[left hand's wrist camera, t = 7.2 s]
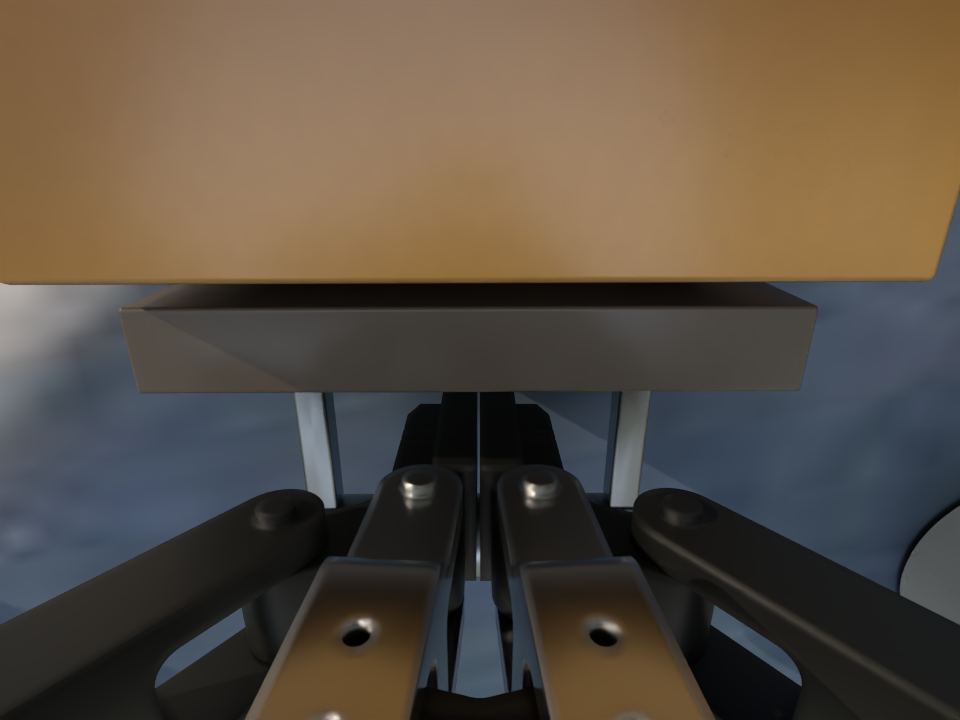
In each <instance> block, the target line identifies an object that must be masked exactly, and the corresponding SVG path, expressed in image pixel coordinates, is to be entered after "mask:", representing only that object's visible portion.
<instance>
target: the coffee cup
mask: <svg viewBox="0 0 960 720" xmlns="http://www.w3.org/2000/svg"><path fill="white" fill-rule="evenodd" d="M900 595H901V596H903V597H905V598H907V599H909V600H911V601H913V602H915V603H917V604H919V605H921V606H923V607H925V608H927V609H929V610H931V611H933V612H935V613H937V614H939V615H941V616H943V617H945V618H947V619H949V620H951V621H953V622H955V623H957V624H959V625H960V506H959V507H957V508H956V509H954V510H953V511H951V512H950V513H949V514H947V515H946V516H945V517H943V518H942V519H941V520H940V521H939V522H937V523H936V524H935V525H934V526H933V527H932V528H931V529H930V530H929V531H928V532H927V533H926V534H925V535H924V537H923V538H922V539H921V540H920V542H919V543H918V544H917V546H916V547H915V548H914V550H913V552H912V553H911V555H910V557H909V559H908V561H907V563H906V565H905V568H904V571H903V573H902V578H901V583H900Z"/></svg>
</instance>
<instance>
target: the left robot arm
mask: <svg viewBox="0 0 960 720" xmlns="http://www.w3.org/2000/svg"><path fill="white" fill-rule="evenodd" d="M476 560H477V392H443V396H442V403H441V404H420V405H419V406H418V407H416V408H415V409H414V410H413V411H412V412H410V413H409V414H408V416H407V420H406V424H405V429H404V431H403V435H402V440H401V442H400V445H399V449H398V453H397V456H396V460H395V463H394V467H393V471H392V472H391V473H389V474H388V475H386V476H385V477H384V478H383V479H382V480H381V481H380V483H379V485H378V487H377V489H376V491H375V494H374V496H373V498H371V499H369V500H367V501H365V502H362V503H360V504H357V505H353V506H349V507H345V508H340V509H335V510H330V511H325V506H324V503H323V501H322V500H321V498H320V497H319V496H317V495H316V494H314V493H312V492H309V491H305V490H299V489H284V490H277V491H272V492H268V493H265V494H262V495H259V496H257V497H254V498H252V499H250V500H248V501H246V502H244V503H242V504H240V505H238V506H236V507H234V508H232V509H230V510H228V511H226V512H224V513H222V514H220V515H218V516H216V517H214V518H212V519H210V520H208V521H206V522H204V523H202V524H200V525H198V526H196V527H194V528H192V529H190V530H188V531H186V532H184V533H182V534H180V535H178V536H176V537H174V538H172V539H170V540H168V541H166V542H164V543H162V544H160V545H158V546H156V547H154V548H152V549H150V550H148V551H146V552H144V553H142V554H140V555H138V556H136V557H134V558H132V559H130V560H128V561H126V562H124V563H122V564H121V565H119V566H117V567H115V568H113V569H111V570H109V571H107V572H105V573H103V574H101V575H99V576H97V577H95V578H93V579H91V580H89V581H87V582H85V583H83V584H81V585H79V586H77V587H75V588H73V589H71V590H69V591H67V592H65V593H63V594H61V595H59V596H57V597H55V598H53V599H51V600H49V601H47V602H45V603H43V604H41V605H39V606H37V607H35V608H33V609H31V610H29V611H27V612H25V613H23V614H21V615H19V616H17V617H15V618H13V619H11V620H9V621H7V622H5V623H3V624H1V625H0V720H960V625H959V624H957V623H955V622H953V621H951V620H949V619H947V618H945V617H943V616H941V615H939V614H937V613H935V612H933V611H931V610H929V609H927V608H925V607H923V606H921V605H919V604H917V603H915V602H913V601H911V600H909V599H907V598H905V597H903V596H901V595H899V594H897V593H895V592H893V591H891V590H889V589H887V588H885V587H883V586H881V585H879V584H877V583H875V582H873V581H871V580H869V579H867V578H865V577H863V576H861V575H859V574H857V573H855V572H853V571H851V570H849V569H847V568H845V567H843V566H841V565H839V564H837V563H835V562H833V561H832V560H830V559H828V558H826V557H824V556H822V555H820V554H818V553H816V552H814V551H812V550H810V549H808V548H806V547H804V546H802V545H800V544H798V543H796V542H794V541H792V540H790V539H788V538H786V537H784V536H782V535H780V534H778V533H776V532H774V531H772V530H770V529H768V528H766V527H764V526H762V525H760V524H758V523H756V522H754V521H752V520H750V519H748V518H746V517H744V516H742V515H740V514H738V513H736V512H734V511H732V510H730V509H728V508H726V507H724V506H722V505H720V504H718V503H716V502H714V501H712V500H710V499H708V498H706V497H704V496H701V495H699V494H696V493H693V492H690V491H686V490H682V489H675V488H658V489H652V490H649V491H646V492H644V493H642V494H641V495H639V496H638V497H637V498H636V500H635V502H634V505H633V512H630V511H625V510H620V509H615V508H610V507H606V506H602V505H599V504H596V503H593V502H591V501H589V500H588V498H587V496H586V494H585V491H584V489H583V487H582V485H581V483H580V481H579V480H578V479H577V478H576V477H575V476H574V475H572V474H571V473H569V472H567V471H565V470H564V469H563V466H562V462H561V458H560V454H559V450H558V447H557V443H556V440H555V435H554V432H553V430H552V424H551V420H550V417H549V414H548V413H546V412H545V411H544V410H543V409H542V408H541V407H539V406H538V405H537V404H515V397H514V392H480V581H492V598H493V601H494V603H495V605H496V627H497V635H498V643H499V651H500V658H501V666H502V674H503V682H504V690H505V693H504V694H500V695H496V696H492V697H487V698H473V697H468V696H464V695H460V694H456V693H455V690H456V682H457V674H458V666H459V658H460V651H461V643H462V635H463V627H464V585H465V581H476ZM714 605H716V606H717V607H719V608H720V609H722V610H723V611H725V612H726V613H728V614H730V615H731V616H733V617H734V618H736V619H737V620H739V621H740V622H742V623H743V624H745V625H746V626H748V627H750V628H751V629H753V630H754V631H756V632H757V633H759V634H760V635H762V636H763V637H765V638H766V639H768V640H770V641H771V642H773V643H774V644H776V645H777V646H778V647H780V648H781V649H782V650H783V651H785V652H786V653H787V654H788V655H789V657H790V658H791V659H792V660H793V662H794V663H795V665H796V666H797V668H798V670H799V672H800V675H801V679H802V687H801V686H800V685H798V684H797V683H795V682H794V681H792V680H791V679H789V678H788V677H786V676H785V675H783V674H782V673H781V672H779V671H778V670H776V669H775V668H773V667H772V666H770V665H769V664H767V663H766V662H764V661H763V660H762V659H760V658H759V657H757V656H756V655H754V654H753V653H751V652H750V651H748V650H747V649H745V648H744V647H743V646H741V645H740V644H738V643H737V642H735V641H734V640H732V639H731V638H729V637H728V636H726V635H725V634H723V633H722V632H721V631H719V630H718V629H716V628H715V627H713V626H712V625H711V620H712V615H713V609H714ZM241 607H242V611H243V616H244V621H245V626H246V627H245V628H244V629H242V630H241V631H239V632H238V633H236V634H235V635H234V636H232V637H231V638H229V639H228V640H226V641H225V642H223V643H222V644H220V645H219V646H217V647H216V648H215V649H213V650H212V651H210V652H209V653H207V654H206V655H204V656H203V657H201V658H200V659H198V660H197V661H196V662H194V663H193V664H191V665H190V666H188V667H187V668H185V669H184V670H182V671H181V672H179V673H178V674H176V675H175V676H174V677H172V678H171V679H169V680H168V681H166V682H165V683H163V684H162V685H160V686H159V687H157V688H156V689H155V680H156V676H157V674H158V671H159V670H160V668H161V666H162V665H163V663H164V662H165V661H166V659H167V658H168V657H169V656H170V655H171V654H172V653H173V652H175V651H176V650H177V649H178V648H180V647H181V646H183V645H184V644H186V643H187V642H189V641H190V640H192V639H194V638H195V637H197V636H198V635H200V634H201V633H203V632H204V631H206V630H207V629H209V628H210V627H212V626H214V625H215V624H217V623H218V622H220V621H221V620H223V619H224V618H226V617H227V616H229V615H230V614H232V613H233V612H235V611H237V610H238V609H240V608H241Z"/></svg>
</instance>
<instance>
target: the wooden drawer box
mask: <svg viewBox="0 0 960 720" xmlns="http://www.w3.org/2000/svg"><path fill="white" fill-rule="evenodd" d="M959 193H960V0H0V283H4V284H8V285H104V284H385V283H666V282H923V281H928V280H931V279H933V277H934V276H935V275H936V271H937V268H938V265H939V261H940V258H941V255H942V251H943V248H944V244H945V241H946V238H947V234H948V231H949V227H950V224H951V221H952V217H953V214H954V210H955V207H956V204H957V200H958V197H959Z"/></svg>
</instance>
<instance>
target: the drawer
mask: <svg viewBox="0 0 960 720" xmlns="http://www.w3.org/2000/svg"><path fill="white" fill-rule="evenodd" d="M817 312H818V307H817V306H816V305H813V304H811V303H809V302H807V301H804V300H802V299H800V298H798V297H796V296H793V295H791V294H789V293H787V292H785V291H782V290H780V289H778V288H776V287H774V286H771V285H769V284H767V283H765V282H666V283H385V284H175V285H173V286H171V287H168V288H166V289H164V290H162V291H159V292H157V293H155V294H152V295H150V296H148V297H145V298H143V299H141V300H139V301H136V302H134V303H132V304H129V305H127V306H125V307H123V308H120V309H119V315H120V319H121V323H122V327H123V331H124V335H125V339H126V344H127V348H128V352H129V356H130V360H131V364H132V368H133V372H134V376H135V380H136V384H137V388H138V391H139V392H140V393H293V394H294V401H295V409H296V416H297V423H298V431H299V438H300V446H301V453H302V460H303V468H304V475H305V482H306V490H307V491H309V492H312V493H314V494H316V495H317V496H319V497H320V498H321V500H322V501H323V503H324V506H325V511H330V510H335V509H340V508H345V507H349V506H353V505H357V504H360V503H362V502H365V501H367V500H369V499H371V498H373V496H374V494H343V484H342V474H341V465H340V456H339V446H338V437H337V428H336V418H335V409H334V400H333V392H564V391H612V401H611V412H610V423H609V434H608V445H607V456H606V467H605V478H604V489H603V492H604V493H585V494H586V496H587V498H588V500H589V501H591V502H593V503H596V504H599V505H602V506H606V507H610V508H615V509H620V510H625V511H630V512H633V505H634V502H635V500H636V498H637V497H638V496H639V489H640V480H641V472H642V463H643V455H644V446H645V438H646V429H647V421H648V412H649V404H650V395H651V391H797V390H799V389H800V388H801V383H802V379H803V375H804V370H805V366H806V361H807V357H808V352H809V348H810V343H811V339H812V334H813V330H814V325H815V321H816V316H817ZM476 578H480V493H477V560H476Z"/></svg>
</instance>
